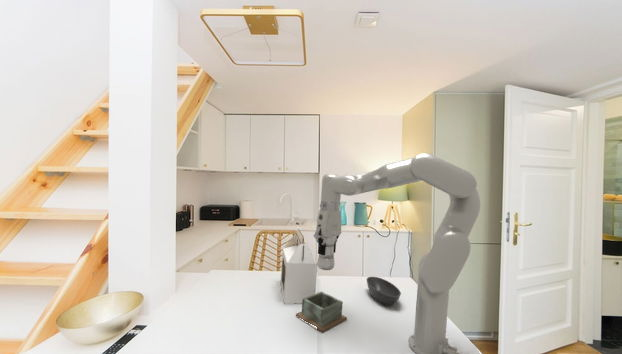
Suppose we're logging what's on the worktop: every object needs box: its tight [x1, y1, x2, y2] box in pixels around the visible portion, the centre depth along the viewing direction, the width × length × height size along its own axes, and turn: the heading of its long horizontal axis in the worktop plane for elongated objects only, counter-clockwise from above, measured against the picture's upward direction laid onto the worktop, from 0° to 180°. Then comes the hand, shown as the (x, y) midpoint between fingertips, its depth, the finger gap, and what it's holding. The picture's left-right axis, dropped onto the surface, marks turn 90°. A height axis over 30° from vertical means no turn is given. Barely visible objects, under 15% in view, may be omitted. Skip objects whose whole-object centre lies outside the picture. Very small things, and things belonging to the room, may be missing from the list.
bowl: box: [366, 276, 402, 308], centre depth 123 cm, size 12×22×6 cm, turn 14°
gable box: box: [280, 229, 318, 305], centre depth 124 cm, size 22×13×28 cm, turn 11°
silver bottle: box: [316, 231, 336, 271], centre depth 103 cm, size 6×7×20 cm
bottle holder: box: [295, 291, 348, 334], centre depth 103 cm, size 14×14×7 cm
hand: (326, 252), depth 103 cm, fingers closed on silver bottle, 5 cm apart
